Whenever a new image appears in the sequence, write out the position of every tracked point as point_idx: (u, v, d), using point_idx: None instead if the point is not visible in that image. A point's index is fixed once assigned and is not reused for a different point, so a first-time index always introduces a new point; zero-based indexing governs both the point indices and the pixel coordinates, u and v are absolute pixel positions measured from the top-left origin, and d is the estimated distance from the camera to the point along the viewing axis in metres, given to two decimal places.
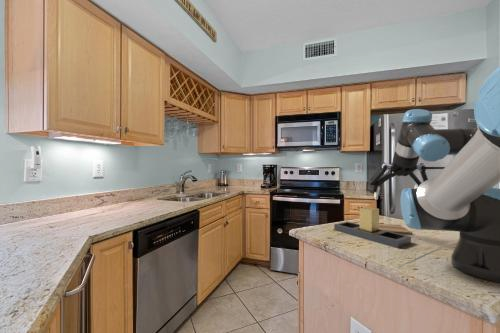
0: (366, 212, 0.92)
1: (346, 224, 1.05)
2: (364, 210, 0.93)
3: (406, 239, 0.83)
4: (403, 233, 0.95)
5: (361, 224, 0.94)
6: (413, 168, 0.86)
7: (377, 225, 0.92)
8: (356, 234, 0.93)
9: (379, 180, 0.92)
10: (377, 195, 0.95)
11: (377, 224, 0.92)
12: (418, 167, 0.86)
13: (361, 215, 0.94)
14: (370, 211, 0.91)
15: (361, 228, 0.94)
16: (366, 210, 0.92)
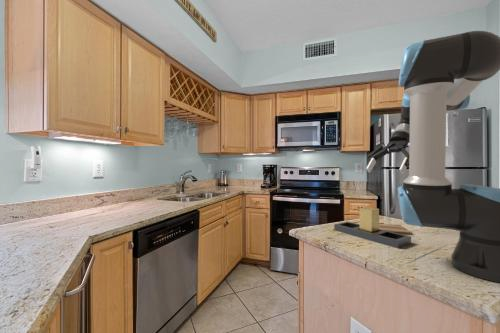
0: (366, 212, 0.92)
1: (346, 224, 1.05)
2: (364, 210, 0.93)
3: (406, 239, 0.83)
4: (403, 233, 0.95)
5: (361, 224, 0.94)
6: (403, 142, 1.01)
7: (377, 225, 0.92)
8: (356, 234, 0.93)
9: None
10: (369, 164, 1.05)
11: (377, 224, 0.92)
12: (409, 143, 1.00)
13: (361, 215, 0.94)
14: (370, 211, 0.91)
15: (361, 228, 0.94)
16: (366, 210, 0.92)
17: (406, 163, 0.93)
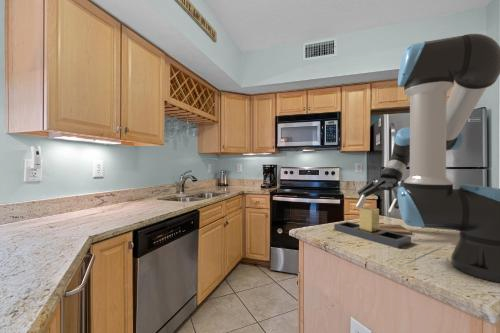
0: (366, 212, 0.92)
1: (346, 224, 1.05)
2: (364, 210, 0.93)
3: (406, 239, 0.83)
4: (403, 233, 0.95)
5: (361, 224, 0.94)
6: (394, 181, 0.99)
7: (377, 225, 0.92)
8: (356, 234, 0.93)
9: None
10: (359, 202, 1.02)
11: (377, 224, 0.92)
12: (399, 182, 0.98)
13: (361, 215, 0.94)
14: (370, 211, 0.91)
15: (361, 228, 0.94)
16: (366, 210, 0.92)
17: (395, 205, 0.91)
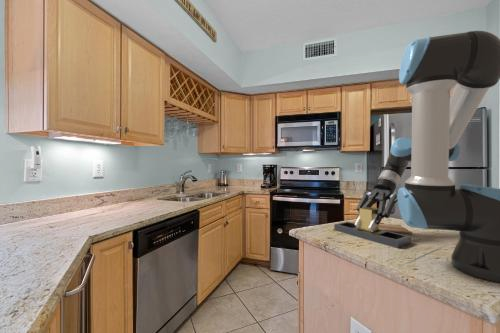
0: (366, 212, 0.92)
1: (346, 224, 1.05)
2: (364, 210, 0.93)
3: (406, 239, 0.83)
4: (403, 233, 0.95)
5: (361, 224, 0.94)
6: (387, 192, 0.95)
7: (377, 225, 0.92)
8: (356, 234, 0.93)
9: None
10: (357, 219, 0.94)
11: (377, 224, 0.92)
12: (392, 195, 0.94)
13: (361, 215, 0.94)
14: (370, 211, 0.91)
15: (361, 228, 0.94)
16: (366, 210, 0.92)
17: (376, 221, 0.90)
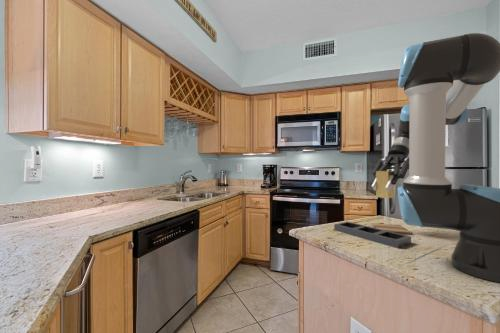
0: (383, 174, 0.98)
1: (346, 224, 1.05)
2: (381, 172, 0.99)
3: (406, 239, 0.83)
4: (403, 233, 0.95)
5: (378, 186, 1.00)
6: (402, 156, 1.02)
7: (393, 186, 0.99)
8: (356, 234, 0.93)
9: None
10: (374, 182, 1.01)
11: (393, 185, 0.99)
12: (406, 159, 1.00)
13: (378, 177, 1.00)
14: (387, 172, 0.97)
15: (378, 189, 1.00)
16: (383, 172, 0.98)
17: (392, 181, 0.96)
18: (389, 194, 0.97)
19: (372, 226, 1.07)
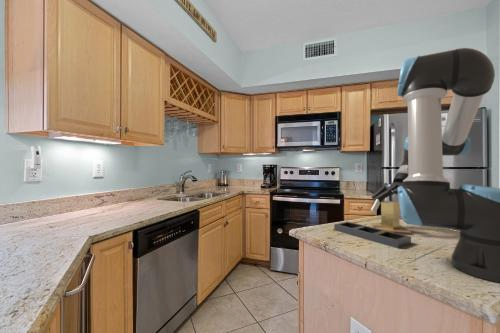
0: (388, 205, 1.00)
1: (346, 224, 1.05)
2: (386, 204, 1.01)
3: (406, 239, 0.83)
4: (403, 233, 0.95)
5: (383, 216, 1.02)
6: None
7: (398, 217, 1.01)
8: (356, 234, 0.93)
9: None
10: (373, 206, 1.06)
11: (398, 216, 1.01)
12: None
13: (383, 208, 1.02)
14: (392, 204, 0.99)
15: (383, 220, 1.02)
16: (388, 204, 1.00)
17: None
18: (394, 225, 0.99)
19: (372, 226, 1.07)
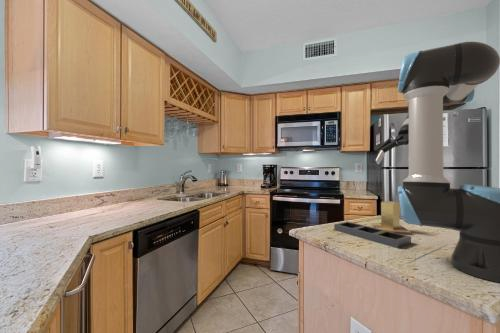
0: (388, 205, 1.00)
1: (346, 224, 1.05)
2: (386, 204, 1.01)
3: (406, 239, 0.83)
4: (403, 233, 0.95)
5: (383, 216, 1.02)
6: None
7: (398, 217, 1.01)
8: (356, 234, 0.93)
9: None
10: (378, 156, 1.09)
11: (398, 216, 1.01)
12: None
13: (383, 208, 1.02)
14: (392, 204, 0.99)
15: (383, 220, 1.02)
16: (388, 204, 1.00)
17: None
18: (394, 225, 0.99)
19: (372, 226, 1.07)
